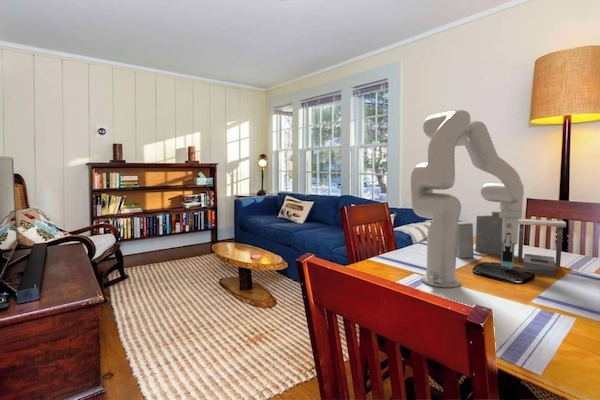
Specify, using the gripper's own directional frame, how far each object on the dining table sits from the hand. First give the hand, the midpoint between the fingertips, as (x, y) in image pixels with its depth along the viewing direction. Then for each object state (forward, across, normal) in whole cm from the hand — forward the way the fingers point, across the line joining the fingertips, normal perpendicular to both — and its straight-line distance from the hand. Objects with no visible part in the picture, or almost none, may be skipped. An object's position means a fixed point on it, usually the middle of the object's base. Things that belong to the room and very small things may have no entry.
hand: (507, 259), depth 134 cm
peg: (+3, 0, 0) cm, 3 cm away
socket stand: (+4, +9, -10) cm, 14 cm away
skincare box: (+4, +14, +19) cm, 23 cm away
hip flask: (+4, +27, +7) cm, 28 cm away
